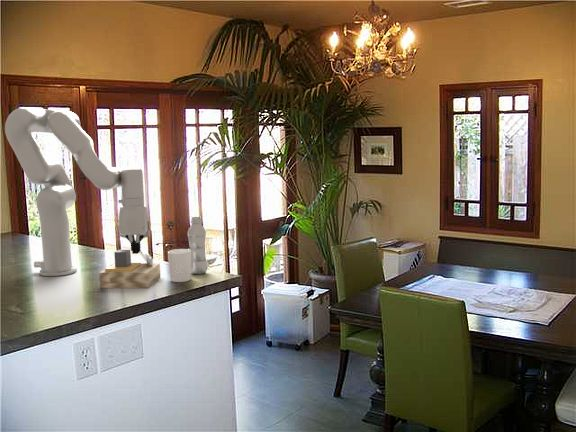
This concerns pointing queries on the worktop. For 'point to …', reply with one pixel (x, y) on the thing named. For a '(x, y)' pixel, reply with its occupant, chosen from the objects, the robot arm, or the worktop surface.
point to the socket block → (131, 277)
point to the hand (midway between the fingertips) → (136, 253)
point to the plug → (122, 262)
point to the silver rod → (146, 257)
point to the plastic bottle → (197, 246)
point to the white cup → (180, 265)
